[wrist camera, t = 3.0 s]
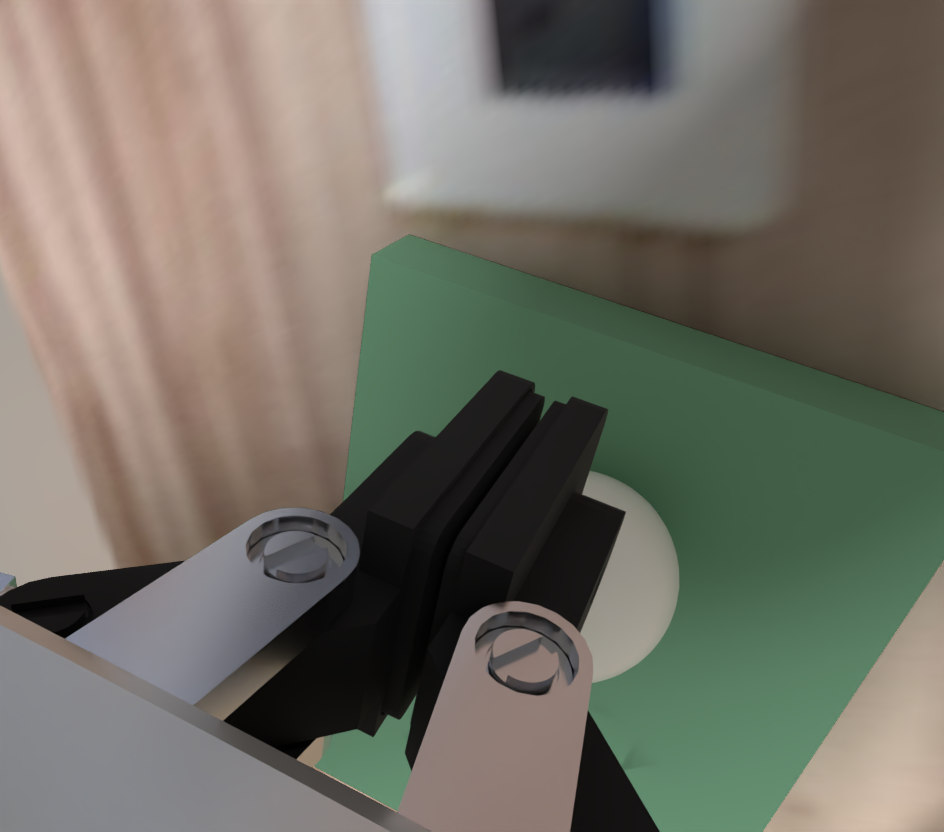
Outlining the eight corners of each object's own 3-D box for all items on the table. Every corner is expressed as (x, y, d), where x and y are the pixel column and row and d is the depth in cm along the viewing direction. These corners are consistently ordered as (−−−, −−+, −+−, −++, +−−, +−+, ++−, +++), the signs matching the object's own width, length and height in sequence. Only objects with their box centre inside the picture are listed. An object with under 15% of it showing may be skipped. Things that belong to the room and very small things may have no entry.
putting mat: (409, 234, 26) (371, 255, 24) (989, 426, 22) (1002, 471, 20) (339, 725, 40) (311, 765, 38) (686, 905, 36) (676, 961, 34)
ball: (532, 405, 24) (451, 508, 20) (724, 477, 23) (688, 609, 18) (494, 550, 28) (416, 670, 23) (661, 622, 26) (616, 767, 21)
